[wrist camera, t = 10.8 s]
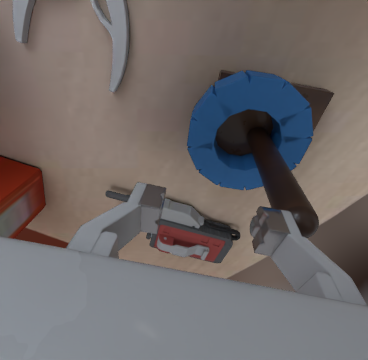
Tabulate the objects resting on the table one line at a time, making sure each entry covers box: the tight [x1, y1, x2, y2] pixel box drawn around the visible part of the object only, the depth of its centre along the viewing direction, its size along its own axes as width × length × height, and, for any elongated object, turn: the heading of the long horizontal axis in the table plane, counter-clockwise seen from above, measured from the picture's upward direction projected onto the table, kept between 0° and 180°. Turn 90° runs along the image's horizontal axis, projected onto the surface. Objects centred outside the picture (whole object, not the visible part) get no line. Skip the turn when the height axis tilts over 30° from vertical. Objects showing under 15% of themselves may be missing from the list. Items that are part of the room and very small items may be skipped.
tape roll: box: [187, 70, 313, 190], centre depth 19 cm, size 10×10×3 cm
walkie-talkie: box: [106, 191, 240, 263], centre depth 29 cm, size 9×4×20 cm
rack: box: [215, 70, 334, 238], centre depth 16 cm, size 10×10×14 cm
